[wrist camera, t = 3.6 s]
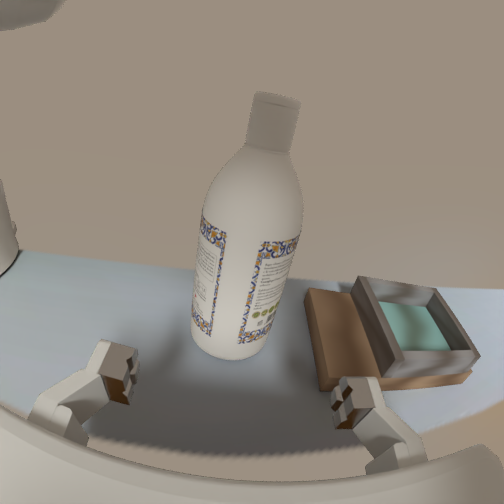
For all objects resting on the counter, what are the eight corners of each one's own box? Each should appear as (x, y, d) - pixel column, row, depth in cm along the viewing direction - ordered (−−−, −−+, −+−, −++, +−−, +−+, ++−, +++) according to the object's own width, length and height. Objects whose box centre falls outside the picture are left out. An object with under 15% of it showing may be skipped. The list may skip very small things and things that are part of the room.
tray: (320, 390, 22) (341, 357, 19) (303, 301, 32) (316, 268, 30) (462, 383, 23) (485, 355, 21) (425, 315, 34) (441, 289, 31)
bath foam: (269, 318, 29) (328, 109, 19) (259, 372, 23) (340, 108, 13) (203, 301, 29) (236, 89, 19) (179, 349, 23) (207, 81, 13)
